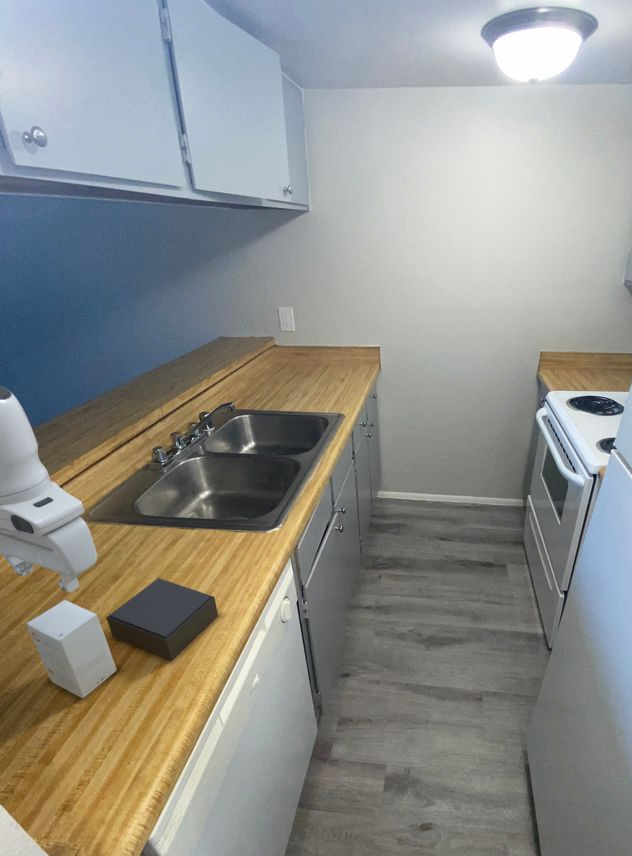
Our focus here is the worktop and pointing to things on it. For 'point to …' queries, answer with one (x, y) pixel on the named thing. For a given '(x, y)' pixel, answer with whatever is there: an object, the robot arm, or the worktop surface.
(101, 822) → the worktop surface
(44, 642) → the small box
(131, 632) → the dark gray box
